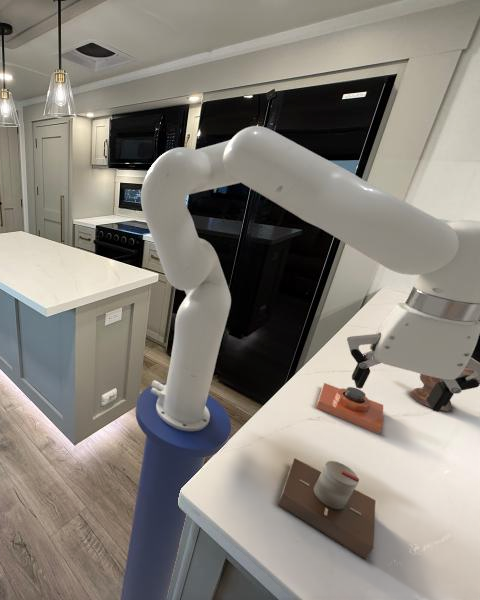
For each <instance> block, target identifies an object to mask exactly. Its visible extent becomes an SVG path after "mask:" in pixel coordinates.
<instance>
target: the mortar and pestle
mask: <svg viewBox="0 0 480 600" xmlns="http://www.w3.org/2000/svg"><path fill="white" fill-rule="evenodd" d="M472 373H474V371H473V370H471V369H470V368H468V367H467V366H466V367H465V369H464V370H463V372H462V373H461V375H460V376H459V377H463V376H468V375H471V374H472ZM419 380H420V381H421V383H422V384H423V386H421V387H416V388H414V389H413V390H412V391H411V392H410V397H411V398H412V399H413V400H414V401H417V402H418V403H420V404H422V405H424V406H426V407H428V408H431V407H430V406H429V404H428V402H427V397H428V396H429V394H430V393H431V391H432V389H433V388H434V386H435V384H436V383H438V382H442V381H443V380H442V379H440V378H436V377H432V376H428V375H424V374H420V373H419ZM454 395H455V393H454ZM451 409H452V401H451V400H450V401H449V402H448V404H447V405H446V406H445V407H444V406H442V408H441V409H440V411H445V412H449V411H450V410H451Z"/></svg>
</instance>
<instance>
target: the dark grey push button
mask: <svg viewBox="0 0 480 600" xmlns="http://www.w3.org/2000/svg"><path fill="white" fill-rule="evenodd" d="M345 389H346V391H345V394H344V396H345V397H346V398H347V399H349V400H351V401H353V402H356V403H362V402H363V400H364V398H365V397H367V396H366V393H365V392H364V391H363V390H361V389H359V388H356V387H353V386H348V387H346V388H345Z"/></svg>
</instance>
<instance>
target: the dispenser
mask: <svg viewBox="0 0 480 600" xmlns="http://www.w3.org/2000/svg"><path fill="white" fill-rule="evenodd" d="M346 389H347V388H345V387H344V388H339V387H337V386H333V385H331V384H328V383H326V382H324V383H323V385H322V387H321V390H320V393H319V396H318V400H317V402H316V406H315V408H316V409H317V410H320V411H323V412H325V413H327V414H330V415H332V416H335V417H336V418H340V419H342V420H344V421H347V422H349V423H351V424H354V425H356V426H359V427H360V428H364V429H366V430H368V431H371V432H373V433H376V434H378V435H379V434H380V433H381V431H382V429H383V427H384V404H383V403H380V402H377V401H374V400H371V399H369V398H368V397H367V396H365V398H364V400H363V402H362V403H356V402H353V401H351V400H349V399H347V398H346V397H345V396H344V394H345V391H346Z"/></svg>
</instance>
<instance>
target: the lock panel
mask: <svg viewBox="0 0 480 600" xmlns="http://www.w3.org/2000/svg"><path fill="white" fill-rule="evenodd" d="M321 472H322V471H320V470H318V469H316V468H314V467H312V466H311V465H309V464H307V463H305V462H303V461H301V460H300V459H297V458H295V457H294V458H293V461H292V462H291V465H290V468H289V470H288V472H287V477H286V478H285V482H284V485H283V488H282V491H281V494H280V496H279V500H278V503H277V505H278V506H279V507H281V508H282V509H284V510H285V511H287V512H289V513H290V514H292V515H293V516H296V517H297V518H298V519H300V520H302V521H303V522H305V523H306V524H308V525H310V526H311V527H313V528H315V529H316V530H318V531H320V532H321V533H322V534H324V535H326V536H328V538H331V539H332V540H334V541H335V542H337V543H339V544H340V545H342V546H344V547H345V548H347V549H348V550H350V551H352V552H353V553H355V554H357V555H358V556H360V557H362V558H363V559H364V560H366V559H367V558H368V556H369V555H370V554H371V552H372V551H373V549H374V544H375V543H374V542H375V519H376V499H374V498H372V497H370V496H368V495H366V494H364V493H363V492H360V491H358V490H357V489H356V488H355V489H354V491H353V493H352V495H351V496H350V498H349V500H348V502H347V503H346V505H345V507H344V508H343V509H334V508H331V507H329V506H327V505H325V504H324V503H323V502H321V501H320V500H319V499H318V498H317V496H316V495H315V493H314V486H315V484H316V482H317V480H318V478H319V476H320V474H321Z"/></svg>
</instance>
